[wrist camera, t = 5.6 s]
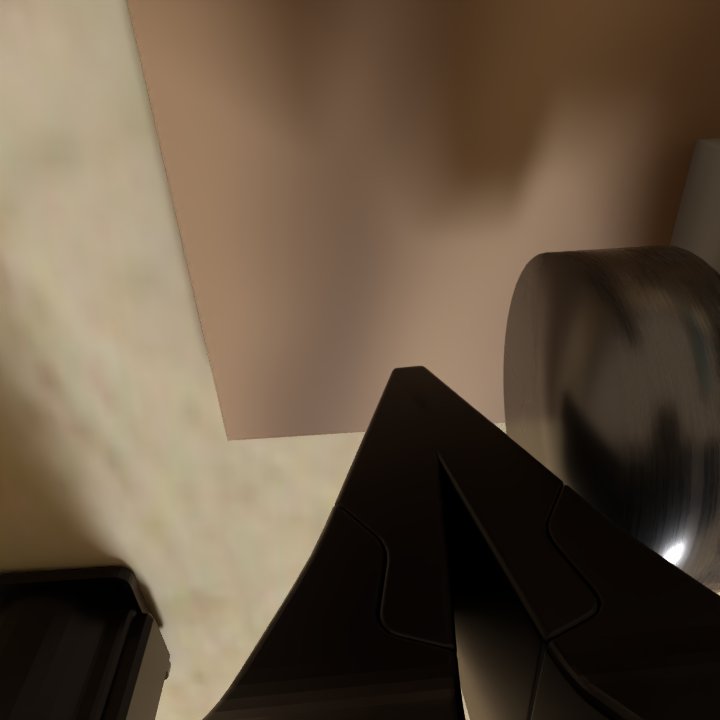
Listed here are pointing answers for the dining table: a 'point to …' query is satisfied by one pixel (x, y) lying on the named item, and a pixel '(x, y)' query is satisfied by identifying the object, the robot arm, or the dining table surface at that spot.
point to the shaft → (624, 390)
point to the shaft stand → (414, 177)
